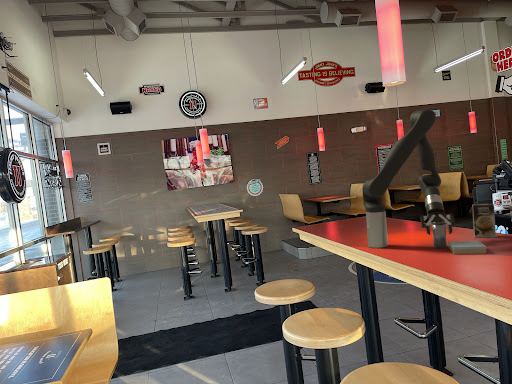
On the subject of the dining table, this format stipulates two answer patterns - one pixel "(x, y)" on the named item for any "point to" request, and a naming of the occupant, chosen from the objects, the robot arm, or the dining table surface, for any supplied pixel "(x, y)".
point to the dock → (467, 247)
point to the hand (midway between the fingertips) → (439, 233)
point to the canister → (439, 234)
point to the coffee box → (484, 221)
